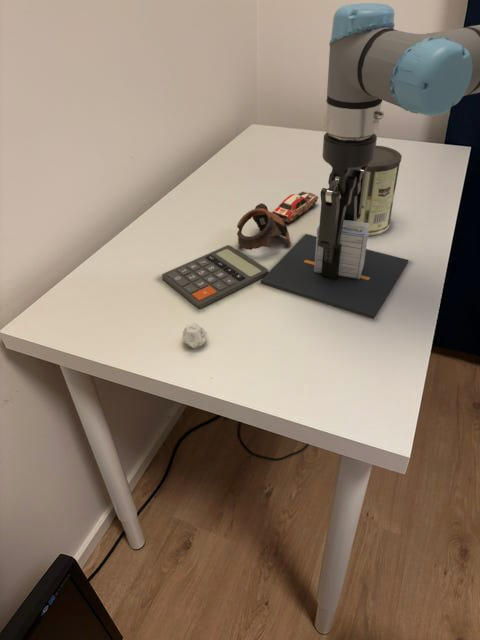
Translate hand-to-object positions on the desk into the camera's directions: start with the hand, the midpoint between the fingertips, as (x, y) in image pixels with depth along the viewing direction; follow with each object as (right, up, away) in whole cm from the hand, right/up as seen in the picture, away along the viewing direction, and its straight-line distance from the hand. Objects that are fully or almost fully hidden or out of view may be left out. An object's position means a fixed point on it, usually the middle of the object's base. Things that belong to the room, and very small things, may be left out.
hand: (336, 268), depth 84 cm
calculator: (-21, -1, +1) cm, 21 cm away
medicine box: (+1, 0, 0) cm, 1 cm away
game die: (-23, -13, -12) cm, 29 cm away
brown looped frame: (-12, +6, +9) cm, 16 cm away
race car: (-5, +14, +19) cm, 24 cm away
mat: (0, -1, +1) cm, 1 cm away
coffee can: (+8, +10, +14) cm, 19 cm away
